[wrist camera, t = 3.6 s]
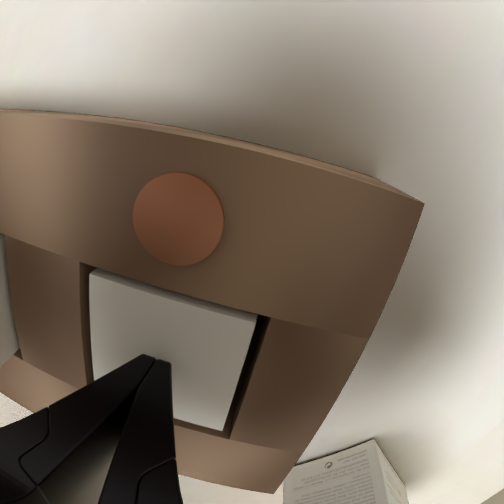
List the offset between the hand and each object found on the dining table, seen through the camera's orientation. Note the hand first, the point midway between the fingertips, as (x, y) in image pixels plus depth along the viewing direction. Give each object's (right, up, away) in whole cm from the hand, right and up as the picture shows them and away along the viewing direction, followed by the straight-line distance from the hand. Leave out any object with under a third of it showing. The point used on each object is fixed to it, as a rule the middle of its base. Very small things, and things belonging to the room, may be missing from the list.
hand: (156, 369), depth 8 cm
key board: (-7, +3, +4) cm, 9 cm away
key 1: (0, +1, +3) cm, 3 cm away
